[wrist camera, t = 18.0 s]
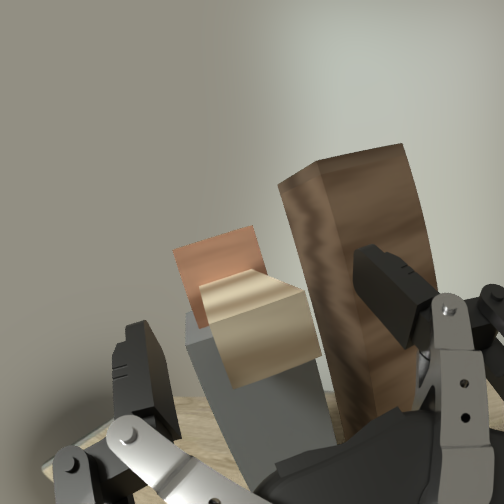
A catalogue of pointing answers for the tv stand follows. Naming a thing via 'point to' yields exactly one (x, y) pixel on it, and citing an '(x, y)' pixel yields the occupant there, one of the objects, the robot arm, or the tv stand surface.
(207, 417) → the tv stand surface
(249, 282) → the two-tone block
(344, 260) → the tall stand
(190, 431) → the tv stand surface
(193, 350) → the tall grey block
